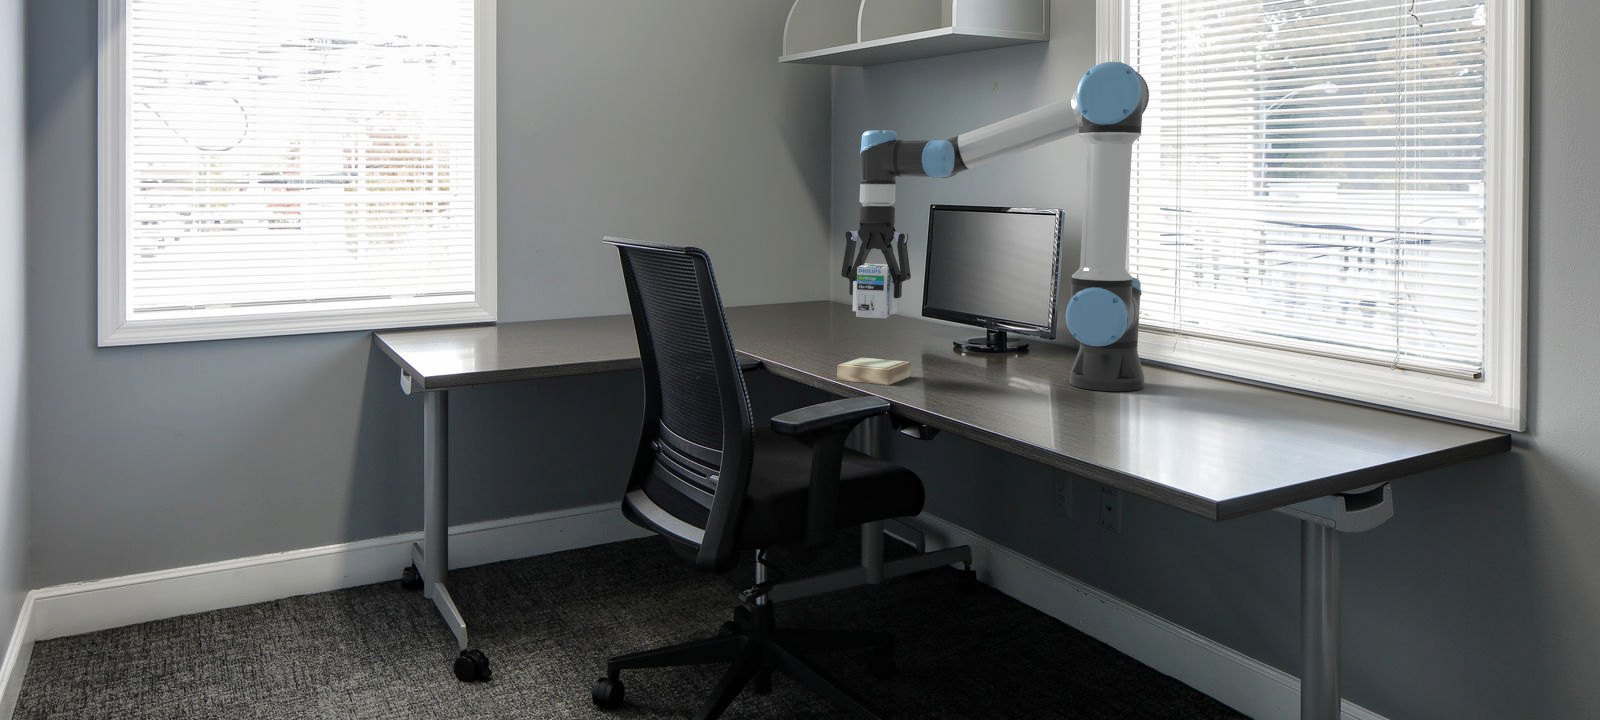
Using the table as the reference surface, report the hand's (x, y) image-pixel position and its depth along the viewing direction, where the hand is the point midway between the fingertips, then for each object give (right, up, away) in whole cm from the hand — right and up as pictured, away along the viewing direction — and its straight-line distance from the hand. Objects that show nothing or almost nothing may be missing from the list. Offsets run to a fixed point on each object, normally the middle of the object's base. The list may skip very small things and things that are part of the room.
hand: (874, 311), depth 240 cm
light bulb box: (0, -1, 0) cm, 1 cm away
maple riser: (0, -14, +2) cm, 14 cm away
